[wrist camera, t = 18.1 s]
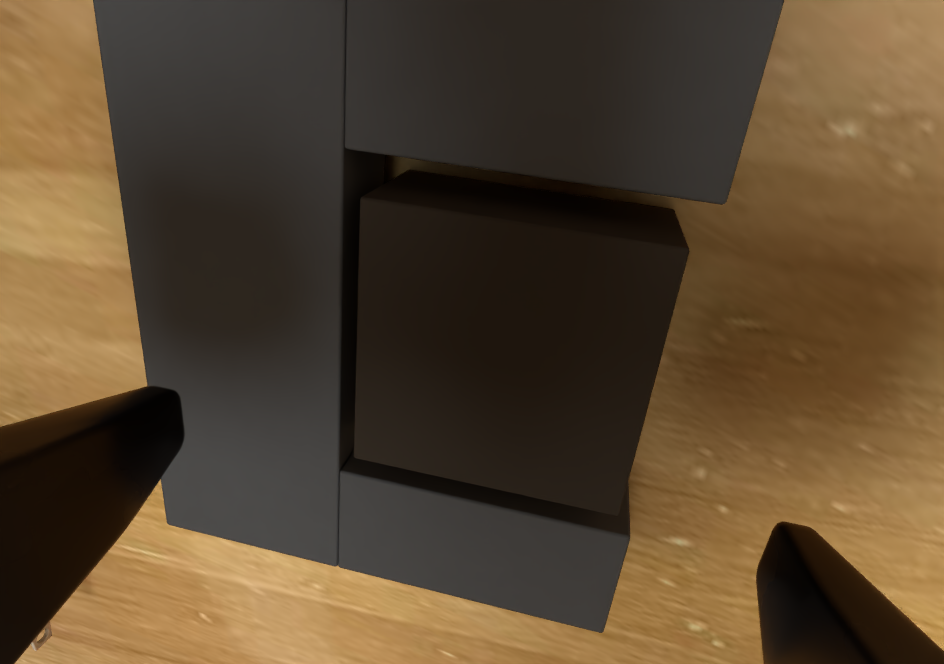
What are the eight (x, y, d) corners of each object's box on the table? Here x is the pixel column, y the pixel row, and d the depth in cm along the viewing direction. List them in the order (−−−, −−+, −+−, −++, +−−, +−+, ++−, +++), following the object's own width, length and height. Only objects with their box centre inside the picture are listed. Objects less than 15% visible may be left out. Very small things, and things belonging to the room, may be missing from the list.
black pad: (617, 438, 16) (618, 517, 13) (394, 393, 17) (352, 458, 14) (675, 208, 13) (690, 249, 11) (407, 169, 14) (358, 197, 11)
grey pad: (604, 560, 18) (603, 635, 15) (218, 470, 19) (166, 525, 17) (753, 6, 11) (786, -5, 9) (170, -54, 13) (80, -75, 11)
